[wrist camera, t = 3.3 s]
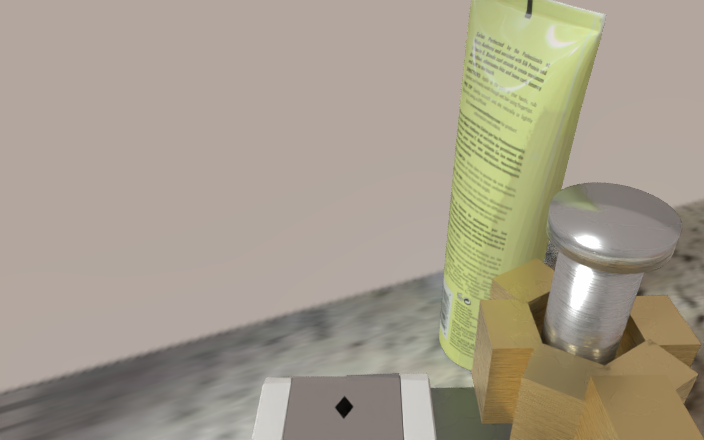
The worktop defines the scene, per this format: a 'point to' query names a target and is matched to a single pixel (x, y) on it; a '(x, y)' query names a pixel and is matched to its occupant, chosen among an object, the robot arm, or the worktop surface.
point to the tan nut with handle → (581, 369)
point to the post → (582, 285)
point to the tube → (510, 147)
